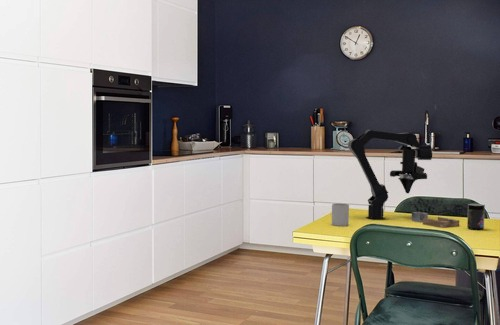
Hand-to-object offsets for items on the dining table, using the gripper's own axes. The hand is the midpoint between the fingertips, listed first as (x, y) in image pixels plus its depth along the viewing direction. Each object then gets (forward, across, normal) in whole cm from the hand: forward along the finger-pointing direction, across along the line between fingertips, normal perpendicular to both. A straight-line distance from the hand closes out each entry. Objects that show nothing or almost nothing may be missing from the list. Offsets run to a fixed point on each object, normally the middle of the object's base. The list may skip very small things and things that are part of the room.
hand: (407, 193), depth 293 cm
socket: (+12, -8, 0) cm, 15 cm away
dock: (+12, -20, 0) cm, 23 cm away
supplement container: (+12, -35, -5) cm, 37 cm away
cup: (+12, 0, +40) cm, 42 cm away
